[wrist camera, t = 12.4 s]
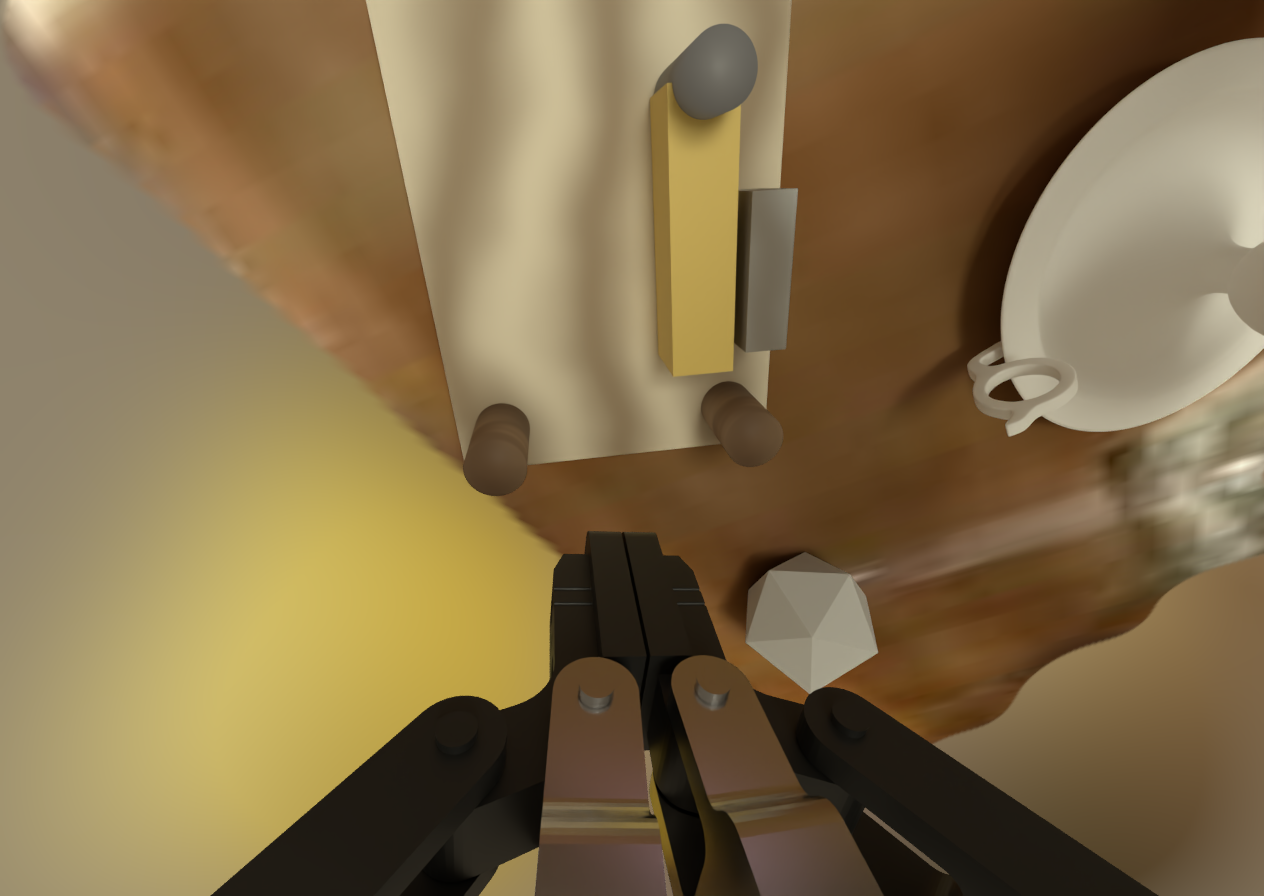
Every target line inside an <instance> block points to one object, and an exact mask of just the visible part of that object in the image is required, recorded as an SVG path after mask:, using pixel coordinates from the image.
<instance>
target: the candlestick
mask: <svg viewBox="0 0 1264 896" xmlns="http://www.w3.org/2000/svg"><path fill="white" fill-rule="evenodd" d="M1263 348H1264V38H1250V39H1243V40H1237V41H1232V42H1228V43H1224V44H1221V45H1217V46H1214V47H1211V48H1208V49H1206V50H1203V51H1200V52H1198V53H1196V54H1194V55H1191V56H1189V57H1187V58H1185V59H1183V60H1181V61H1179V62H1177V63H1175V64H1173V65H1171V66H1170V67H1168V68H1166V69H1164V70H1163V71H1161V72H1159V73H1158V74H1156V75H1155V76H1153V77H1151V78H1150V79H1149V80H1147V81H1146V82H1144V83H1143V84H1141V85H1140V86H1139V87H1137V88H1136V89H1135V90H1133V91H1132V92H1131V93H1129V94H1128V95H1127V96H1126V97H1125V98H1123V99H1122V100H1121V101H1120V102H1118V103H1117V104H1116V105H1115V106H1114V107H1113V108H1112V109H1111V110H1110V111H1108V112H1107V113H1106V114H1105V115H1104V116H1103V117H1102V118H1101V119H1100V120H1099V121H1098V122H1097V123H1096V124H1095V125H1094V126H1093V127H1092V128H1091V129H1090V130H1089V131H1088V133H1087V134H1086V135H1085V136H1084V137H1083V138H1082V139H1081V140H1080V142H1079V143H1078V144H1077V145H1076V146H1075V148H1074V149H1073V150H1072V151H1071V152H1070V154H1069V155H1068V156H1067V158H1066V159H1065V160H1064V162H1063V163H1062V164H1061V166H1060V167H1059V168H1058V170H1057V171H1056V173H1055V174H1054V175H1053V177H1052V178H1051V180H1050V182H1049V183H1048V185H1047V186H1046V188H1045V189H1044V191H1043V193H1042V194H1041V196H1040V198H1039V199H1038V201H1037V203H1036V205H1035V207H1034V209H1033V210H1032V212H1031V214H1030V216H1029V218H1028V220H1027V222H1026V225H1025V227H1024V229H1023V231H1022V233H1021V236H1020V238H1019V241H1018V243H1017V246H1016V249H1015V251H1014V254H1013V257H1012V260H1011V264H1010V267H1009V270H1008V274H1007V278H1006V283H1005V287H1004V293H1003V299H1002V307H1001V341H1000V342H998V343H996V344H994V345H993V346H991V347H989V348H988V349H986V350H984V351H982V352H981V353H979V354H978V355H976V356H975V357H973V358H972V359H971V360H970V361H969V363H968V364H967V368H968V373H969V376H970V378H971V379H972V380H973V381H974V382H975V383H974V386H973V397H974V401H975V404H976V406H977V408H978V409H979V410H980V411H981V412H982V413H984V414H986V415H988V416H992V417H995V418H999V419H1005V420H1008V421H1007V422H1006V424H1005V427H1006V431H1007V435H1008V436H1013V435H1016V434H1018V433H1020V432H1022V431H1024V430H1026V429H1027V428H1028V427H1029V426H1030V425H1031V423H1032V422H1033V421H1034V420H1035V419H1037V418H1038V417H1040V416H1042V417H1044V418H1045V419H1047V420H1049V421H1051V422H1053V423H1055V424H1057V425H1060V426H1063V427H1066V428H1070V429H1074V430H1080V431H1089V432H1107V431H1116V430H1123V429H1128V428H1132V427H1136V426H1140V425H1143V424H1147V423H1150V422H1152V421H1155V420H1158V419H1160V418H1163V417H1165V416H1168V415H1170V414H1172V413H1174V412H1176V411H1178V410H1180V409H1182V408H1184V407H1186V406H1188V405H1190V404H1192V403H1193V402H1195V401H1197V400H1198V399H1200V398H1202V397H1203V396H1205V395H1207V394H1208V393H1210V392H1211V391H1213V390H1214V389H1216V388H1217V387H1218V386H1220V385H1221V384H1223V383H1224V382H1225V381H1227V380H1228V379H1229V378H1231V377H1232V376H1233V375H1234V374H1236V373H1237V372H1238V371H1239V370H1240V369H1242V368H1243V367H1244V366H1245V365H1246V364H1247V363H1248V362H1250V361H1251V360H1252V359H1253V358H1254V357H1255V356H1256V355H1257V354H1258V353H1259V352H1260V351H1261V350H1262V349H1263ZM1002 357H1004V360H1005V363H1004V364H1000V365H995V366H988V365H989V364H991V363H993V362H995V361H997V360H998V359H1000V358H1002ZM1009 379H1011V380H1012V382H1013V384H1014V386H1015V388H1016V390H1017V391H1018V393H1019V394H1020V396H1021V397H1022V398H1023V401H1017V402H1007V401H1000V400H995V399H992V398H991V397H989V393H990V392H991V391H992V389H993V388H995V387H996V386H997V385H999V384H1000V383H1002V382H1004V381H1006V380H1009Z"/></svg>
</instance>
